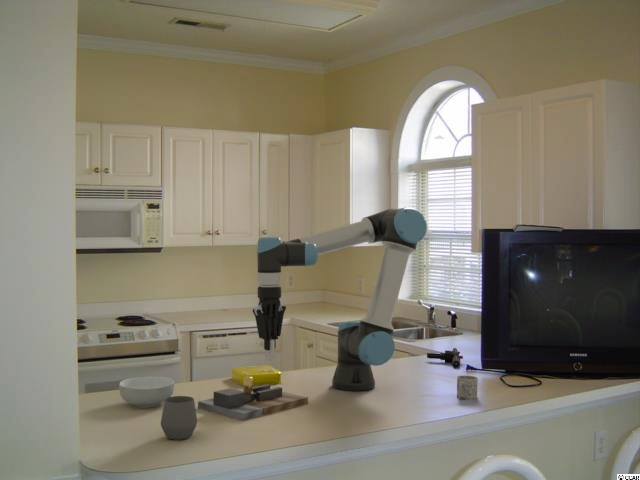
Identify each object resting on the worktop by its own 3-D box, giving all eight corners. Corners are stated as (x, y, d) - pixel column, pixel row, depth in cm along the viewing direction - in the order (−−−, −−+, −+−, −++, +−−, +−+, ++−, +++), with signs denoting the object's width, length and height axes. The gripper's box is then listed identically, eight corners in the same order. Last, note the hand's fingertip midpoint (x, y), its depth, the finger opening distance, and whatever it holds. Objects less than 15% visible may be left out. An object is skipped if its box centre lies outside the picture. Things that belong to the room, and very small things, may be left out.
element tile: (268, 376, 268) (268, 363, 268) (282, 384, 255) (282, 371, 255) (230, 379, 263) (230, 366, 262) (242, 387, 249) (242, 373, 249)
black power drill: (426, 356, 292) (463, 358, 289) (427, 344, 311) (462, 345, 308) (426, 369, 293) (463, 370, 290) (427, 356, 312) (462, 357, 309)
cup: (153, 439, 184) (153, 401, 184) (173, 430, 193) (173, 393, 193) (184, 444, 181) (185, 405, 181) (203, 434, 189) (204, 397, 189)
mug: (461, 394, 243) (462, 374, 243) (480, 396, 239) (480, 377, 239) (449, 399, 235) (449, 379, 235) (468, 402, 231) (468, 382, 231)
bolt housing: (266, 392, 230) (266, 380, 230) (282, 396, 226) (282, 383, 226) (213, 405, 213) (213, 391, 213) (229, 409, 209) (229, 395, 209)
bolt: (249, 397, 222) (249, 375, 222) (255, 399, 220) (256, 377, 220) (225, 403, 214) (225, 380, 214) (231, 405, 212) (232, 381, 212)
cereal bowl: (115, 400, 226) (115, 378, 225) (168, 396, 232) (168, 374, 232) (122, 413, 210) (123, 389, 210) (179, 408, 216) (179, 385, 216)
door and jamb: (263, 393, 239) (263, 387, 239) (307, 403, 226) (307, 397, 225) (197, 408, 217) (198, 401, 217) (242, 420, 204) (243, 413, 204)
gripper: (275, 283, 233) (275, 355, 233) (246, 286, 223) (246, 361, 224) (292, 284, 228) (292, 358, 228) (263, 287, 218) (263, 364, 219)
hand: (270, 359), depth 226 cm, fingers closed
